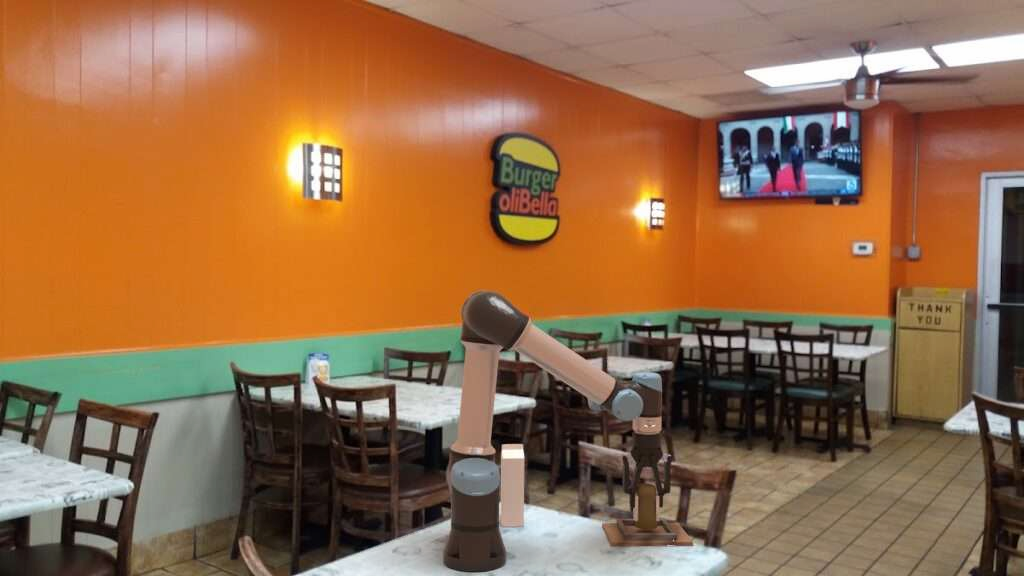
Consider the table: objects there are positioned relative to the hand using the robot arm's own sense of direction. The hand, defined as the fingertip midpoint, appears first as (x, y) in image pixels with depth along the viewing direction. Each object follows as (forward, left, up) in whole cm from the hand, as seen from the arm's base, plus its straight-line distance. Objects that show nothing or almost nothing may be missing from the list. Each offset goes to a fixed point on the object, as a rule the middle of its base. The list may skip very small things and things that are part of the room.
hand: (646, 519), depth 217 cm
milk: (-35, +11, -5) cm, 37 cm away
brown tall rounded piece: (0, 0, -2) cm, 2 cm away
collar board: (0, 0, -4) cm, 4 cm away
